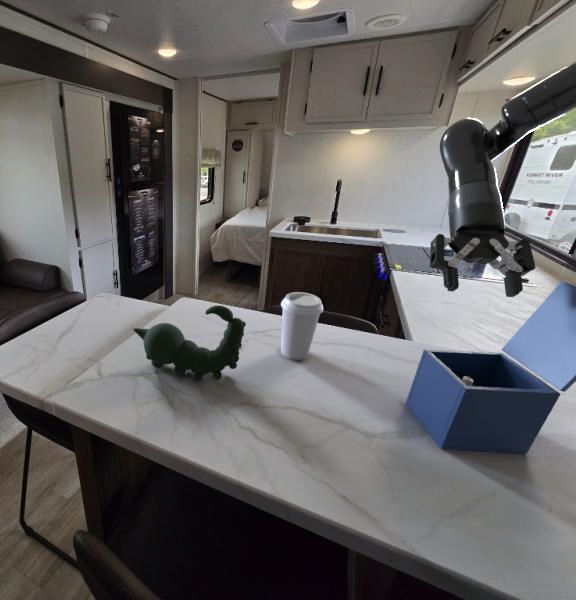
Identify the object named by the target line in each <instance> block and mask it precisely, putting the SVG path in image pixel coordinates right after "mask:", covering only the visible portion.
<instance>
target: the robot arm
mask: <svg viewBox="0 0 576 600" xmlns="http://www.w3.org/2000/svg"><path fill="white" fill-rule="evenodd" d="M573 110H576V61H574V62H572V63H571V64H569V65H567V66H565V67H563V68H561V69H560V70H558V71H556V72H555V73H552V74H551V75H550V76H548V77H546V78H544V79H542V80H541V81H539V82H537V83H536V84H534V85H532V86H531V87H529V88H527V89H526V90H524V91H523V92H521V93H519V94H517V95H516V96H514V97H512V98H511V99H509V100H508V101H507V102H505V103H504V104H503V105H502V106H501V108H500V116H501V119H500V120H499V121H498V122H497V123H496V124H495V125H494V126H493V127H491V128H490V129H487V127H486V126H485V124H484V123H483V122H482V121H481V120H479V119H477V118H471V117H467V118H462V119H459V120H457V121H455V122H454V123H452V124H450V126H448V127H447V128H446V129H445V131H444V132H443V134H442V136H441V138H440V141H439V154H440V157H441V160H442V164H443V167H444V171H445V173H446V176H447V187H448V205H447V215H448V224H449V225H448V227H449V237H445V235H444V234H442V233H438V234H437V235H436V236H435V237H434V238H433V239H432V240H431V241H430V250H429V251H430V252H429V253H430V254H429V267H430V268H431V269H433V270H436V269H437V270H440V271H441V272H442V279H443V287H444V288H445V289H447V292H455V291H456V290H458V289H459V287H460V285H459V284H460V282H459V270H458V267H456V266H457V265H458V264H459V263H461V261H464V262H465V263H466V264H475V263H477V264H480V265H487V264H488V265H490V267H491V268H493V270H498V271H499V272H500V273H501V274H502V275H503V276H504V277H503V283H504V291H505V297H507V298H514V297H516V296H518V295H519V294H520V293H521V292H523V289H524V286H523V278H522V277H523V276H526V275H527V274H528V273H530V272H533V271H534V270H536V263H535V259H534V255H533V251H532V246H531V242H530V241H529V239H527V238H522V239H520V240H519V241H509V240H508V239H507V238H506V236H505V233H506V223H505V217H504V216H505V215H504V209H503V208H504V207H503V202H502V195H501V193H500V190H499V185H498V178H497V173H496V168H495V166H494V164H493V162H492V161H493V160H495V159H497V157H499V156H500V155H501V154H503V153H504V152H505V151H507V150H508V149H509V148H511V147H513V146H514V145H515V144H517V142H519V141H520V140H521V139H523V138H524V137H525V136H526V135H528V134H529V133H531V132H533V131H535V130H537V129H539V128H540V127H543V126H545V125H546V124H549V123H550V122H553V121H554V120H556V119H558V118H560V117H562V116H565V115H566V114H568V113H569V112H572V111H573ZM447 246H448V247H449V248H450V250H452V251H453V252H454V254H455V255H453V256H452V257H451V258H450V259H449V260H446V259H445V248H447ZM498 258H501V260H500V261H499V260H498Z"/></svg>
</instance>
